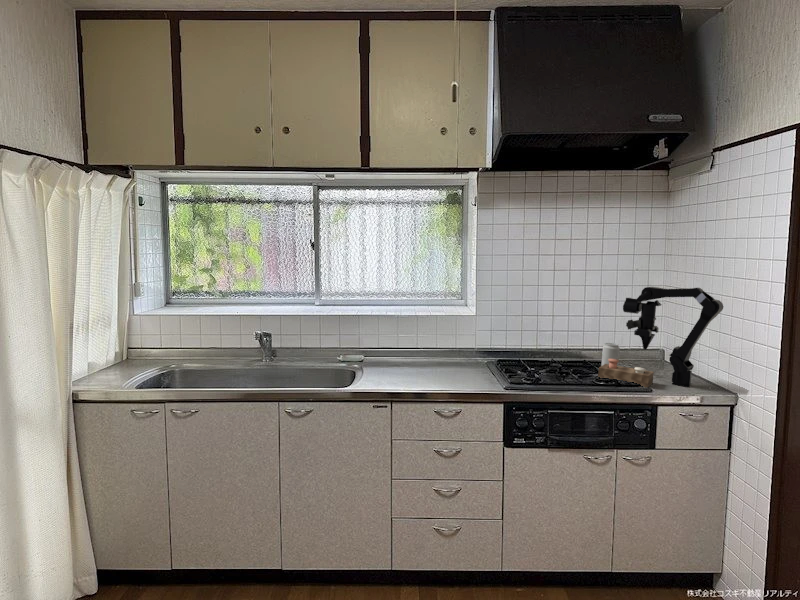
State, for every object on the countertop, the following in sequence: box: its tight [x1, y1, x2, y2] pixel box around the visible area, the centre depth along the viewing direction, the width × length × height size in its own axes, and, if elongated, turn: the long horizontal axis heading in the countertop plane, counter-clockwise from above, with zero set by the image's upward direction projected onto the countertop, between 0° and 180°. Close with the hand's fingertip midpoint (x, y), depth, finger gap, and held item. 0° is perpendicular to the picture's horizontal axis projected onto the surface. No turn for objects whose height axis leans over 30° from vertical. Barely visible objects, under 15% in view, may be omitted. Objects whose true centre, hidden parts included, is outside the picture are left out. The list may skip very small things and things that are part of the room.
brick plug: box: [608, 359, 620, 369], centre depth 226 cm, size 4×4×6 cm
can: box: [600, 342, 621, 367], centre depth 246 cm, size 8×8×12 cm
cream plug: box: [634, 366, 646, 374], centre depth 220 cm, size 4×4×6 cm
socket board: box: [597, 364, 655, 389], centre depth 223 cm, size 20×10×5 cm, turn 53°
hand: (644, 349), depth 231 cm, fingers closed
